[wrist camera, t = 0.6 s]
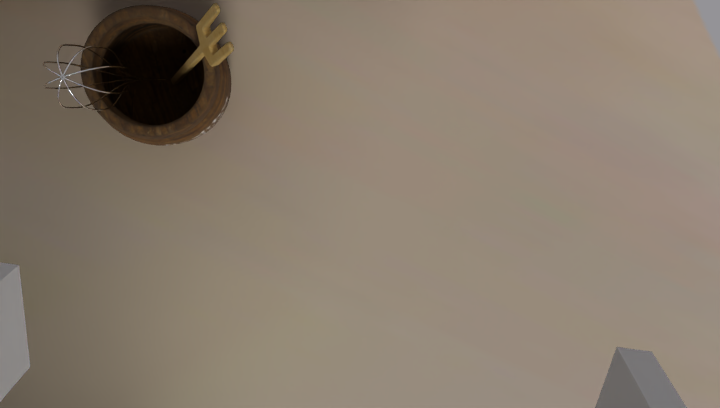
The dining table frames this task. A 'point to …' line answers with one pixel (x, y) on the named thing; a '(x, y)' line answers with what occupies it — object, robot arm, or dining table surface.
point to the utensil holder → (155, 73)
